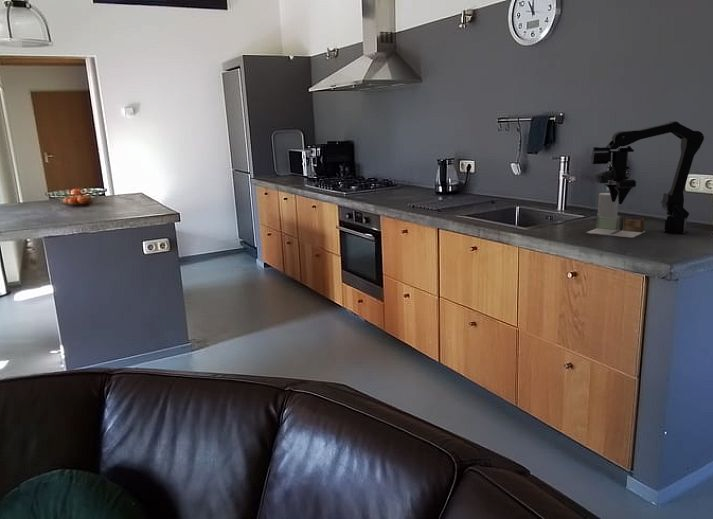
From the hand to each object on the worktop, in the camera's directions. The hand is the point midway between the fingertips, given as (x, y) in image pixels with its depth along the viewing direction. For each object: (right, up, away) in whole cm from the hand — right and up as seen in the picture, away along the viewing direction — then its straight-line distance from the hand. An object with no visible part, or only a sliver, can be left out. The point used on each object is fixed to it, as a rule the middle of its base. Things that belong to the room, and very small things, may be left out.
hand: (616, 202), depth 220 cm
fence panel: (0, -10, +8) cm, 13 cm away
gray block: (+10, -5, +30) cm, 31 cm away
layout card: (+1, -12, +2) cm, 12 cm away
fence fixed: (+7, -12, +2) cm, 14 cm away
